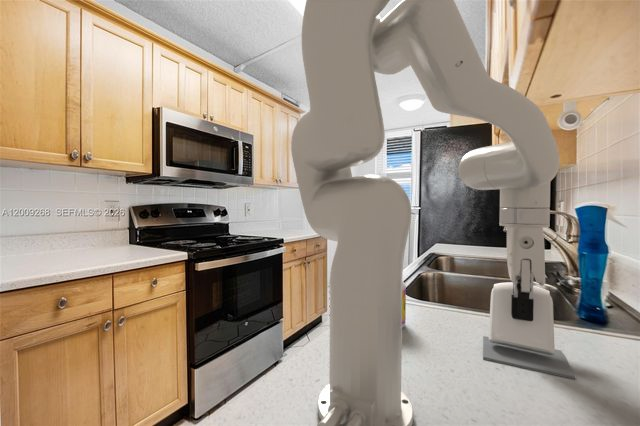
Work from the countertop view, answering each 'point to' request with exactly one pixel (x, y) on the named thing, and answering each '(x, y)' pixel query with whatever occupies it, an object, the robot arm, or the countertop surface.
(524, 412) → the countertop surface
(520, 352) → the mat
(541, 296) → the photo printer
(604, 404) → the countertop surface
